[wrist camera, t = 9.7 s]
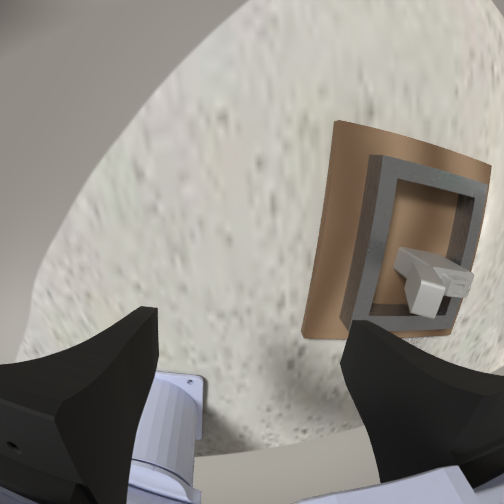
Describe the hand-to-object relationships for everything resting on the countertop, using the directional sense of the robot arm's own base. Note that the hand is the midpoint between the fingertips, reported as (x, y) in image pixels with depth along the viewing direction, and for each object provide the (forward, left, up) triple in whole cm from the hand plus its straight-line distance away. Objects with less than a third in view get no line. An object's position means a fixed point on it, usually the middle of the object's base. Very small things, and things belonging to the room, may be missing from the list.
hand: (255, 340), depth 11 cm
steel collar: (+12, +2, -9) cm, 15 cm away
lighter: (+11, +1, -10) cm, 15 cm away
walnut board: (+12, +2, -10) cm, 16 cm away
